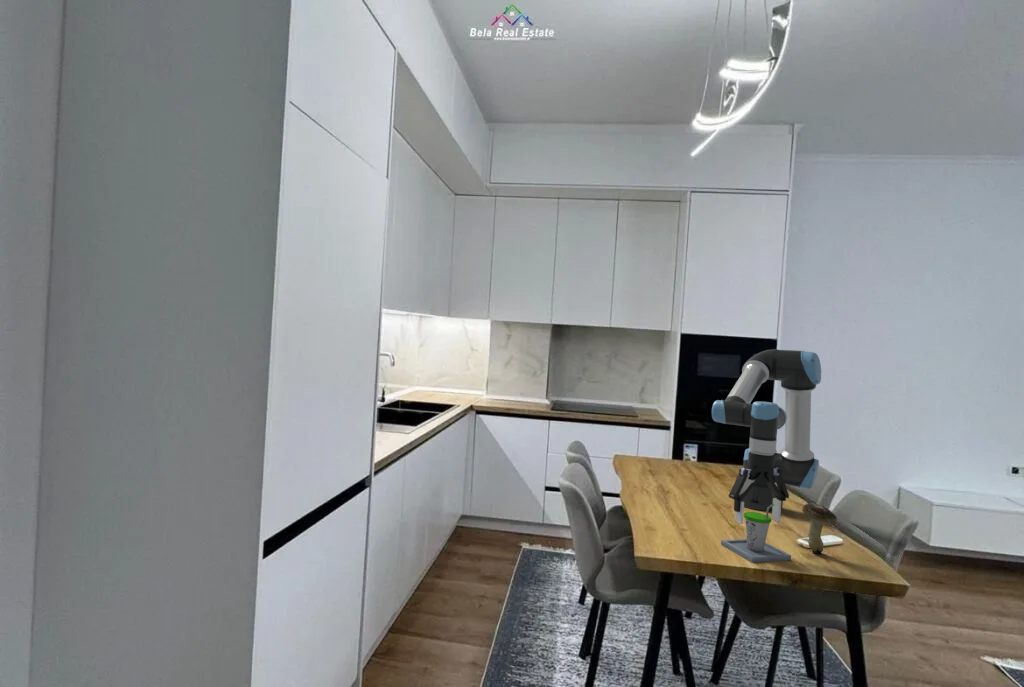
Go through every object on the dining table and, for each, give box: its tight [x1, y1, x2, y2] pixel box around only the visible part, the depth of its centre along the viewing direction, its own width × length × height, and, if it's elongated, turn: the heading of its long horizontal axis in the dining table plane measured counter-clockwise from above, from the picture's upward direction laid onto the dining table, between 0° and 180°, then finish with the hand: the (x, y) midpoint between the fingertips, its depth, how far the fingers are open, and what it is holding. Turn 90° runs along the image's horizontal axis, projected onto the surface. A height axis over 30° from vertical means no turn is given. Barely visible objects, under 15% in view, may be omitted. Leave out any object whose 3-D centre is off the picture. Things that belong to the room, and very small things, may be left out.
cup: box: [743, 504, 774, 552], centre depth 172 cm, size 8×8×15 cm
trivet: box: [720, 538, 792, 563], centre depth 172 cm, size 14×14×1 cm
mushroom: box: [801, 502, 838, 555], centre depth 175 cm, size 9×9×15 cm
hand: (757, 521), depth 172 cm, fingers open, 13 cm apart
